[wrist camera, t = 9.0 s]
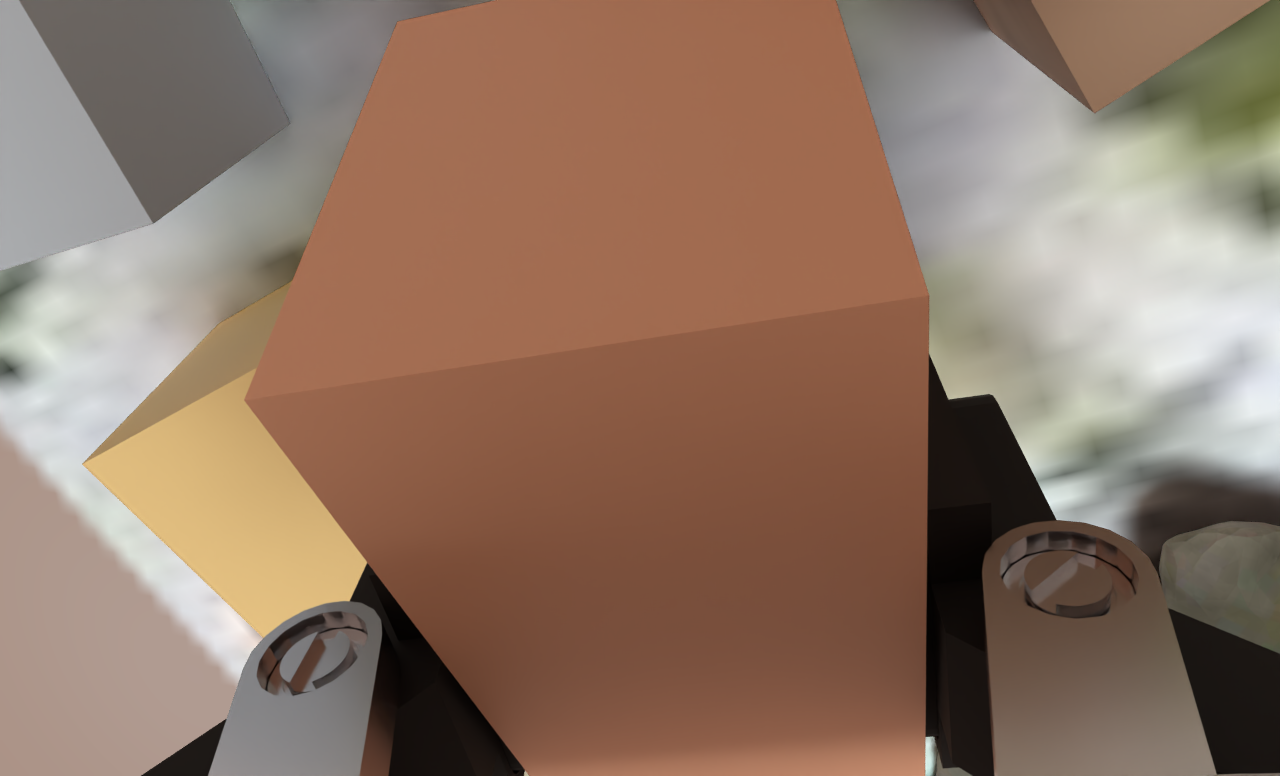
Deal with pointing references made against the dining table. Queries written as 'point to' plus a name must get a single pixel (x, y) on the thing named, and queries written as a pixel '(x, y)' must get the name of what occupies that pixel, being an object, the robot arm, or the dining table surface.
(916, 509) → the terracotta brick
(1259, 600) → the artifact
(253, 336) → the ochre brick
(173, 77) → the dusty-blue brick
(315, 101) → the dining table surface
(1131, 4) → the walnut brick
